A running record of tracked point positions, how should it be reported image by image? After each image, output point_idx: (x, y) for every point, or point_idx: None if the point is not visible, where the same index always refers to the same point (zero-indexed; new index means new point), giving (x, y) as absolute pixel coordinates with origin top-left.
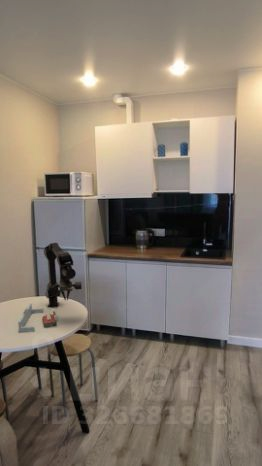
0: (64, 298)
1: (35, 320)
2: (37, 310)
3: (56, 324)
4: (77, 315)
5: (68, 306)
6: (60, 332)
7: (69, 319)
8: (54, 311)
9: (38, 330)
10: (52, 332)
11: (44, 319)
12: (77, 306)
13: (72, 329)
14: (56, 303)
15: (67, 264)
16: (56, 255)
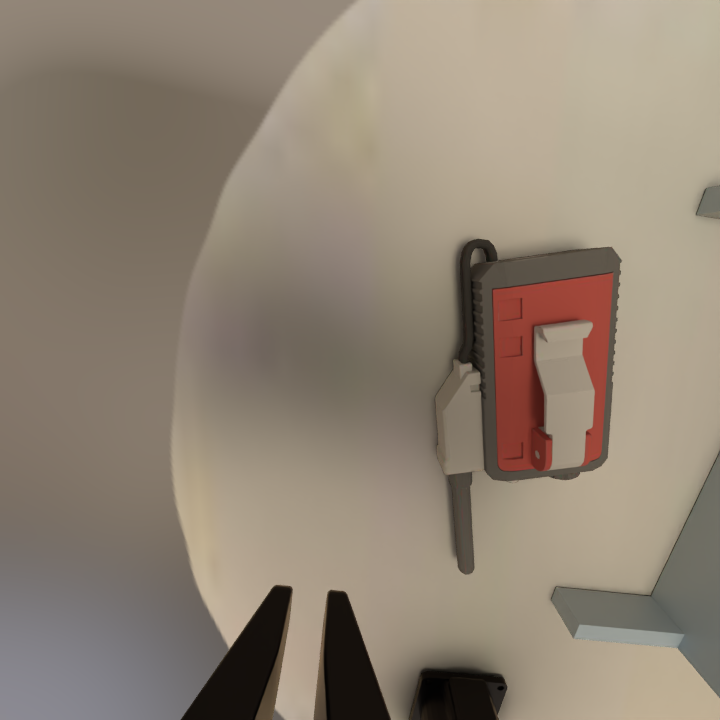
0: (355, 650)
1: (644, 453)
2: (620, 616)
3: (464, 253)
4: (239, 464)
5: None
6: (423, 66)
7: (317, 394)
8: (462, 569)
9: (656, 204)
10: (514, 97)
11: (603, 372)
12: None
13: (279, 115)
14: (434, 711)
15: None
16: None
